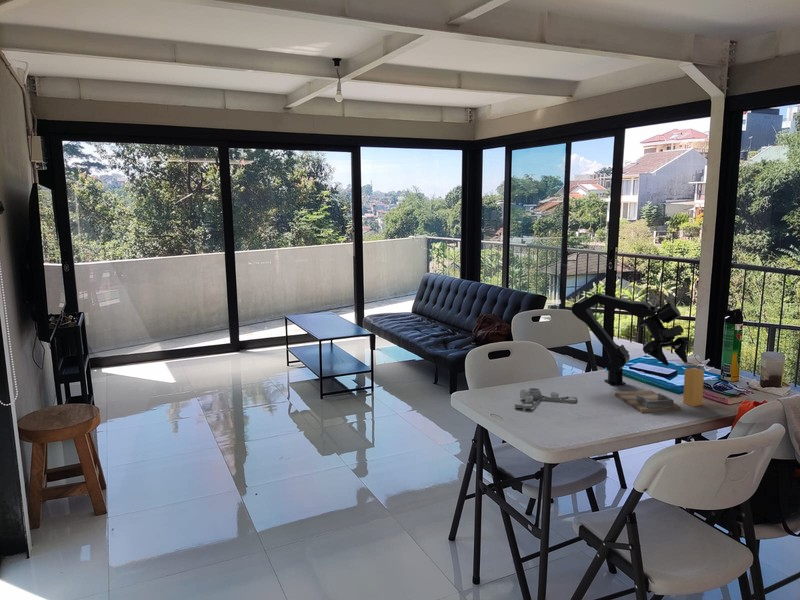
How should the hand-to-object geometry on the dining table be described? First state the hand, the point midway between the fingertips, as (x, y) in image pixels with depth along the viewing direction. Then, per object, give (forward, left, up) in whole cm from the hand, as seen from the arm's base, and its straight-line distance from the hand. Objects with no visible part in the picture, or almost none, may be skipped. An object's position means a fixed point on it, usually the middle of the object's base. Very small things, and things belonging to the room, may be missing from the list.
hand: (677, 363), depth 224 cm
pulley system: (-7, -51, -14) cm, 54 cm away
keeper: (+3, -14, -13) cm, 19 cm away
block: (+8, +2, -13) cm, 16 cm away
